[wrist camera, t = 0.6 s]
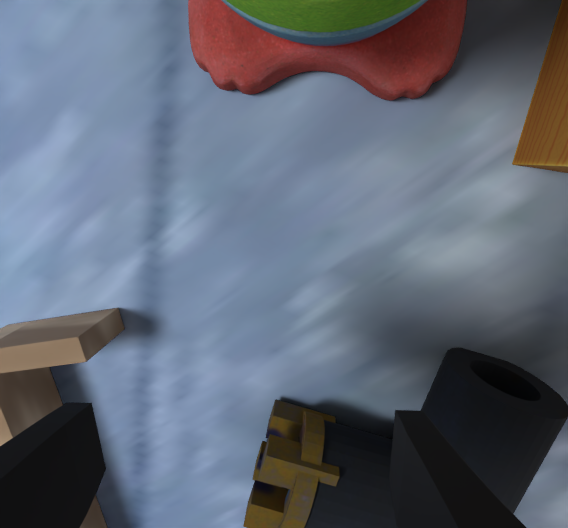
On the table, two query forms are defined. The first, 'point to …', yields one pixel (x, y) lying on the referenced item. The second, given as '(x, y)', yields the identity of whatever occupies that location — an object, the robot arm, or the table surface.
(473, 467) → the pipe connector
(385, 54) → the stacking bear
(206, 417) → the table surface
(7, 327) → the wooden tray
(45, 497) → the robot arm
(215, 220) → the table surface
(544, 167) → the spider toy trap
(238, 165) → the table surface
